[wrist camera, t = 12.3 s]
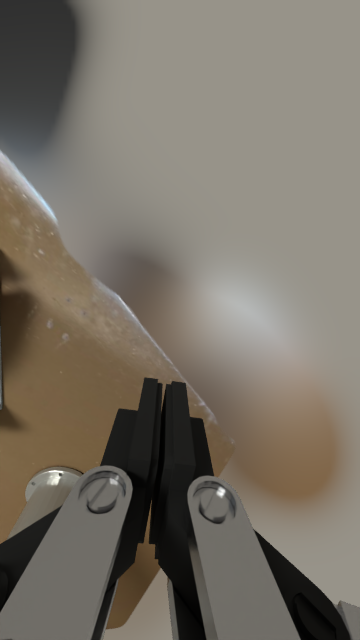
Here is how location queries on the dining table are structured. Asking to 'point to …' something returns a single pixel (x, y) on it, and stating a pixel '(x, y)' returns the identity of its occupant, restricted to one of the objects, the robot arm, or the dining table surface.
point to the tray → (0, 375)
